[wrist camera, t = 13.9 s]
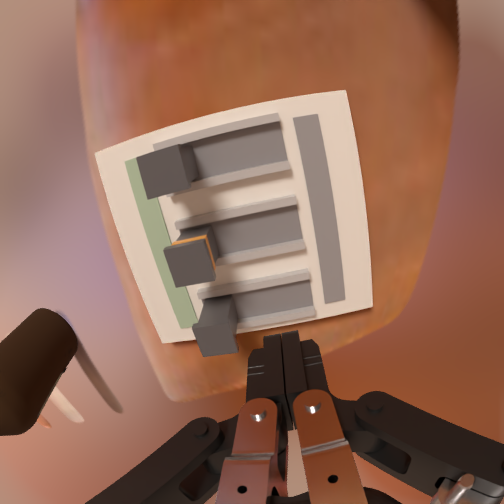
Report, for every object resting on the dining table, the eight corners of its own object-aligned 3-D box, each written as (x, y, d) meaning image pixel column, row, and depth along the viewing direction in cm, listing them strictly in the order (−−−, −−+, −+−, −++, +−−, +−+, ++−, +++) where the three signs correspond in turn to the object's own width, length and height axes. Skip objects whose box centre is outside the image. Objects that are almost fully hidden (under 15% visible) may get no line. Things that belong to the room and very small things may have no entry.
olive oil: (19, 312, 39) (-69, 410, 15) (55, 296, 37) (-50, 415, 14) (54, 362, 42) (-14, 468, 19) (93, 354, 41) (20, 483, 17)
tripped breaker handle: (213, 221, 30) (203, 241, 25) (222, 254, 31) (215, 280, 26) (179, 229, 30) (162, 250, 25) (189, 261, 32) (175, 287, 26)
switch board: (340, 92, 27) (367, 79, 20) (367, 298, 36) (390, 338, 28) (103, 151, 30) (61, 159, 22) (166, 334, 38) (148, 377, 31)
